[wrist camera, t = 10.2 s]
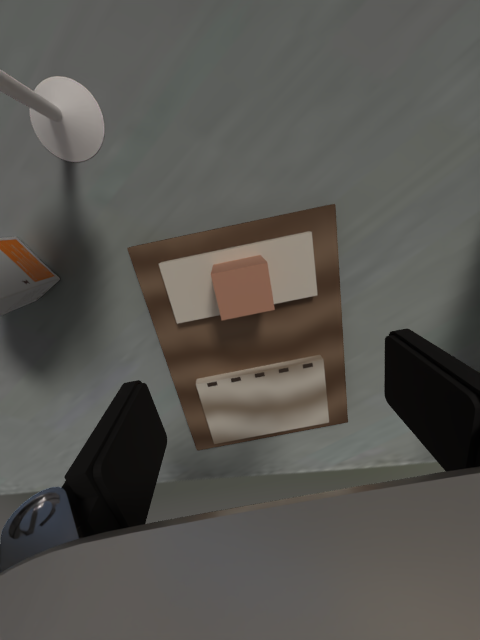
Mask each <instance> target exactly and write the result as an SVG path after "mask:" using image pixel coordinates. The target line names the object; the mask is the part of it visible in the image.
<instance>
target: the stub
mask: <svg viewBox="0 0 480 640" xmlns="http://www.w3.org/2000/svg"><path fill="white" fill-rule="evenodd" d="M159 267H160V270H161V274H162V277H163V280H164V283H165V287H166V290H167V293H168V296H169V300H170V303H171V306H172V309H173V312H174V316H175V319H176V322H177V324H178V323H183V322H188V321H193V320H198V319H203V318H208V317H213V316H218V315H220V316H221V320H227V319H232V318H237V317H242V316H247V315H252V314H256V313H261V312H266V311H271V310H275V308H274V304H277V303H282V302H287V301H292V300H297V299H302V298H307V297H312V296H317V295H318V294H317V284H316V273H315V262H314V251H313V240H312V232H309V231H308V232H303V233H298V234H294V235H289V236H284V237H279V238H275V239H270V240H265V241H260V242H255V243H251V244H246V245H241V246H236V247H232V248H227V249H222V250H217V251H212V252H208V253H203V254H198V255H193V256H188V257H184V258H179V259H174V260H169V261H165V262H161V263H159Z"/></svg>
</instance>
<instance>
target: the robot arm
mask: <svg viewBox="0 0 480 640" xmlns="http://www.w3.org/2000/svg"><path fill="white" fill-rule="evenodd" d="M385 398H386V401H387V403H388V404H389V405H390V406H391V408H392V409H393V410H394V411H395V412H396V413H397V415H398V416H399V417H400V418H401V419H402V420H403V422H404V423H405V424H406V425H407V426H408V427H409V429H410V430H411V431H412V432H413V433H414V434H415V436H416V437H417V438H418V439H419V440H420V442H421V443H422V444H423V445H424V446H425V447H426V449H427V450H428V451H429V452H430V453H431V454H432V456H433V457H434V458H435V459H436V460H437V461H438V463H439V464H440V465H441V466H442V467H443V468H444V470H445V471H446V472H441V473H435V474H429V475H423V476H417V477H411V478H405V479H399V480H393V481H387V482H381V483H376V484H369V485H363V486H357V487H351V488H345V489H340V490H334V491H328V492H322V493H316V494H310V495H305V496H299V497H293V498H288V499H282V500H276V501H270V502H264V503H259V504H253V505H247V506H242V507H237V508H231V509H225V510H220V511H214V512H208V513H203V514H197V515H192V516H186V517H180V518H175V519H170V520H164V521H158V522H154V523H149V524H145V522H146V518H147V515H148V511H149V508H150V504H151V500H152V497H153V493H154V489H155V485H156V482H157V478H158V475H159V471H160V467H161V464H162V460H163V456H164V453H165V449H166V445H167V435H166V432H165V430H164V427H163V425H162V422H161V420H160V417H159V415H158V412H157V410H156V407H155V404H154V402H153V399H152V397H151V394H150V392H149V389H148V387H147V385H146V384H145V383H142V382H141V381H139V380H138V381H132V382H127V383H124V384H123V385H122V387H121V388H120V390H119V391H118V393H117V394H116V396H115V398H114V399H113V401H112V402H111V404H110V405H109V407H108V409H107V410H106V412H105V413H104V415H103V417H102V418H101V420H100V421H99V423H98V424H97V426H96V428H95V429H94V431H93V432H92V434H91V436H90V437H89V439H88V440H87V442H86V443H85V445H84V447H83V448H82V450H81V451H80V453H79V455H78V456H77V458H76V459H75V461H74V462H73V464H72V466H71V467H70V469H69V470H68V472H67V473H66V475H65V479H66V481H65V483H64V485H63V486H62V488H60V487H52V488H49V489H46V490H43V491H41V492H39V493H37V494H36V495H34V496H32V497H31V498H30V499H28V500H27V501H26V502H24V503H23V504H22V505H21V506H20V507H19V508H18V509H17V510H16V511H15V512H14V513H13V514H12V515H11V517H10V518H9V519H8V521H7V522H6V524H5V526H4V528H3V530H2V534H1V544H0V640H480V373H479V372H477V371H475V370H474V369H472V368H471V367H469V366H467V365H466V364H464V363H463V362H461V361H459V360H458V359H456V358H455V357H453V356H451V355H450V354H448V353H447V352H445V351H443V350H442V349H440V348H439V347H437V346H435V345H434V344H432V343H431V342H429V341H427V340H426V339H424V338H423V337H421V336H419V335H418V334H416V333H414V332H413V331H411V330H410V329H402V330H397V331H392V332H390V334H389V336H387V337H386V338H385Z"/></svg>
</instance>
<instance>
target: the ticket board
mask: <svg viewBox="0 0 480 640" xmlns="http://www.w3.org/2000/svg"><path fill="white" fill-rule="evenodd" d="M308 231H309V232H312V240H313V251H314V262H315V273H316V284H317V294H318V295H317V296H312V297H307V298H302V299H297V300H292V301H287V302H282V303H277V304H274V308H275V310H271V311H266V312H261V313H256V314H252V315H247V316H242V317H237V318H232V319H227V320H221V316H220V315H218V316H213V317H208V318H203V319H198V320H193V321H188V322H183V323H178V324H177V322H176V319H175V316H174V312H173V309H172V306H171V303H170V300H169V296H168V293H167V290H166V287H165V283H164V280H163V277H162V274H161V270H160V267H159V263H161V262H165V261H169V260H174V259H179V258H184V257H188V256H193V255H198V254H203V253H208V252H212V251H217V250H222V249H227V248H232V247H236V246H241V245H246V244H251V243H255V242H260V241H265V240H270V239H275V238H279V237H284V236H289V235H294V234H298V233H303V232H308ZM127 249H128V252H129V254H130V257H131V260H132V263H133V266H134V269H135V272H136V275H137V278H138V281H139V283H140V286H141V289H142V292H143V295H144V298H145V301H146V304H147V307H148V309H149V312H150V315H151V318H152V321H153V324H154V327H155V330H156V333H157V336H158V338H159V341H160V344H161V347H162V350H163V353H164V356H165V359H166V362H167V365H168V367H169V370H170V373H171V376H172V379H173V382H174V385H175V388H176V391H177V393H178V396H179V399H180V402H181V405H182V408H183V411H184V414H185V417H186V420H187V422H188V425H189V428H190V431H191V434H192V437H193V440H194V443H195V446H196V449H197V450H203V449H208V448H213V447H219V446H224V445H229V444H235V443H240V442H245V441H251V440H256V439H261V438H267V437H272V436H277V435H283V434H288V433H293V432H299V431H304V430H309V429H314V428H320V427H325V426H330V425H336V424H341V423H346V422H348V415H347V398H346V381H345V364H344V346H343V329H342V312H341V295H340V277H339V260H338V243H337V226H336V208H335V204H332V205H326V206H322V207H317V208H312V209H308V210H303V211H298V212H293V213H289V214H284V215H279V216H274V217H270V218H265V219H260V220H256V221H251V222H246V223H241V224H237V225H232V226H227V227H222V228H218V229H213V230H208V231H203V232H199V233H194V234H189V235H185V236H180V237H175V238H170V239H166V240H161V241H156V242H151V243H147V244H142V245H137V246H132V247H129V248H127Z"/></svg>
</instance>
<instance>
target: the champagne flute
mask: <svg viewBox="0 0 480 640" xmlns="http://www.w3.org/2000/svg"><path fill="white" fill-rule="evenodd" d="M0 91H1V92H3V93H5V94H6V95H8V96H10V97H12V98H13V99H15V100H17V101H19V102H21V103H22V104H24V105H26V106H28V107H30V118H31V123H32V126H33V129H34V131H35V133H36V135H37V137H38V138H39V140H40V141H41V143H42V144H43V145H44V146H45V147H46V148H47V149H48V150H49V151H50V152H51V153H52V154H54V155H55V156H57V157H59V158H61V159H63V160H66V161H70V162H81V161H85V160H88V159H90V158H91V157H93V156H94V155H95V154H96V153H97V152H98V150H99V149H100V147H101V145H102V142H103V138H104V120H103V116H102V112H101V110H100V108H99V105H98V103H97V102H96V100H95V99H94V97H93V96H92V94H91V93H90V92H89V91H88V90H87V89H86V88H85V87H84V86H82V85H81V84H80V83H78V82H76V81H74V80H73V79H70V78H66V77H60V76H55V77H50V78H47V79H45V80H43V81H42V82H41V83H40V84H38V85H37V87H36V88H35V90H34V91H32V90H31V89H29V88H28V87H26V86H25V85H23V84H22V83H20V82H19V81H17V80H16V79H14V78H13V77H11V76H10V75H8V74H6V73H5V72H3V71H2V70H0Z"/></svg>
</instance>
